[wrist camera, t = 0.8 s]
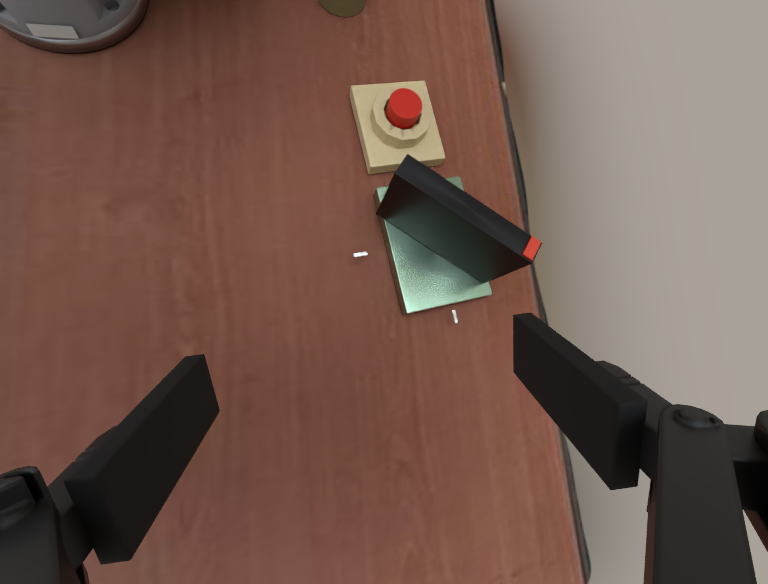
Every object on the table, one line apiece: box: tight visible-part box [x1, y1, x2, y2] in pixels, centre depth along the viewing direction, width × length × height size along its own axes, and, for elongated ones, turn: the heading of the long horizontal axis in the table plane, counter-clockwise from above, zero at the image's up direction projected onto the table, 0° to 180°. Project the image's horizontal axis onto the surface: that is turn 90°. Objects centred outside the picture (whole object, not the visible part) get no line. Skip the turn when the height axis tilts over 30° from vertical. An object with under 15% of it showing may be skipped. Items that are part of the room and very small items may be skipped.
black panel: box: [376, 154, 542, 283], centre depth 35 cm, size 14×2×9 cm, turn 60°
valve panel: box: [353, 176, 492, 323], centre depth 41 cm, size 18×18×2 cm
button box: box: [349, 81, 445, 174], centre depth 42 cm, size 10×9×4 cm
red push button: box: [386, 88, 422, 129], centre depth 40 cm, size 4×4×2 cm
